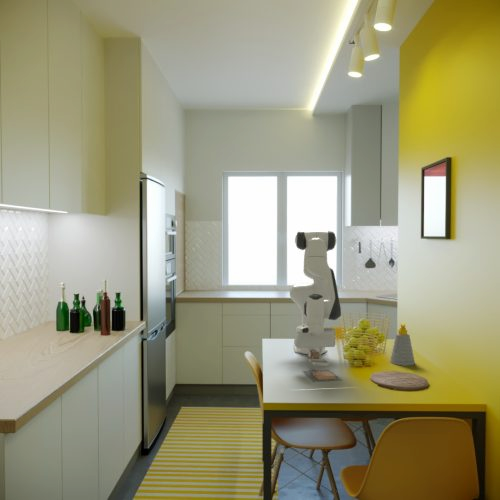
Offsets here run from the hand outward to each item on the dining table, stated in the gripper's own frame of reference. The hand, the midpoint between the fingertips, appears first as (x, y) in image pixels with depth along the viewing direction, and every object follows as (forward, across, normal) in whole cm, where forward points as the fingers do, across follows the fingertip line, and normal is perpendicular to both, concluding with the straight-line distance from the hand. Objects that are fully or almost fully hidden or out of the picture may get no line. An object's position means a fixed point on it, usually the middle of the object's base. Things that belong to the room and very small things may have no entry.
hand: (314, 356), depth 234 cm
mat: (+7, 0, +11) cm, 13 cm away
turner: (+2, 0, +3) cm, 3 cm away
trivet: (+8, -32, +24) cm, 40 cm away
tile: (+6, 0, +10) cm, 11 cm away
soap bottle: (+8, -51, -8) cm, 52 cm away
